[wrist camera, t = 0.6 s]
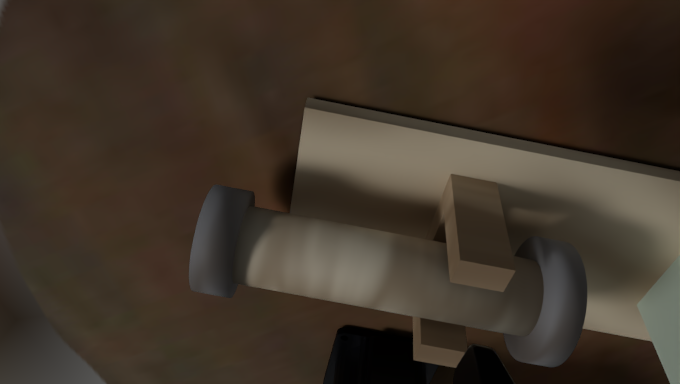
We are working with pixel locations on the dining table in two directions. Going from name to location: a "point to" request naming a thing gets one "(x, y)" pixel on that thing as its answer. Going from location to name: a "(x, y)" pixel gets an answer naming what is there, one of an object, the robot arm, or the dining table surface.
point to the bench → (491, 208)
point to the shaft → (389, 274)
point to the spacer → (665, 319)
